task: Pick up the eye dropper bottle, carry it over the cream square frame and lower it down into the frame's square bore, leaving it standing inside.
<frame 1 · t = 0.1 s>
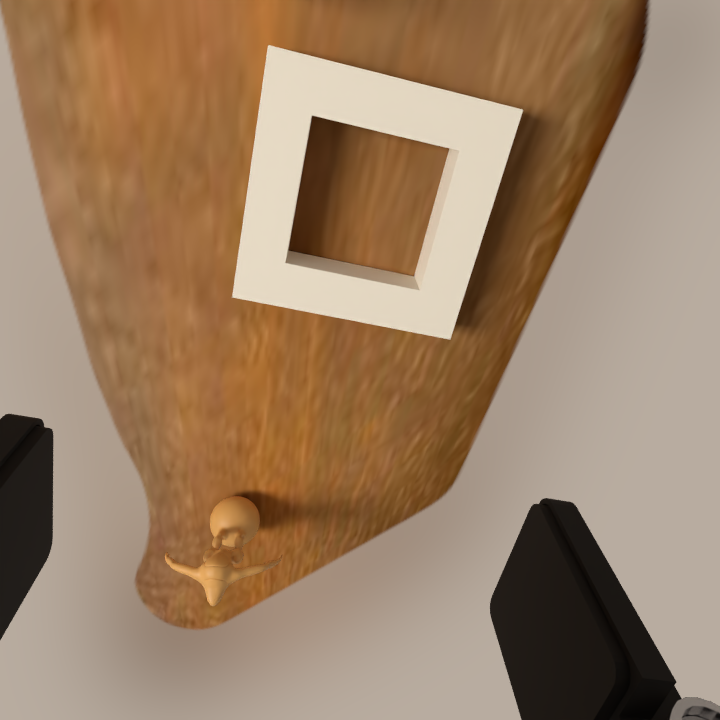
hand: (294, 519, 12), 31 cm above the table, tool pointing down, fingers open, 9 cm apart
cream square frame: (366, 199, 40), on the table
figurine: (238, 493, 50), on the table
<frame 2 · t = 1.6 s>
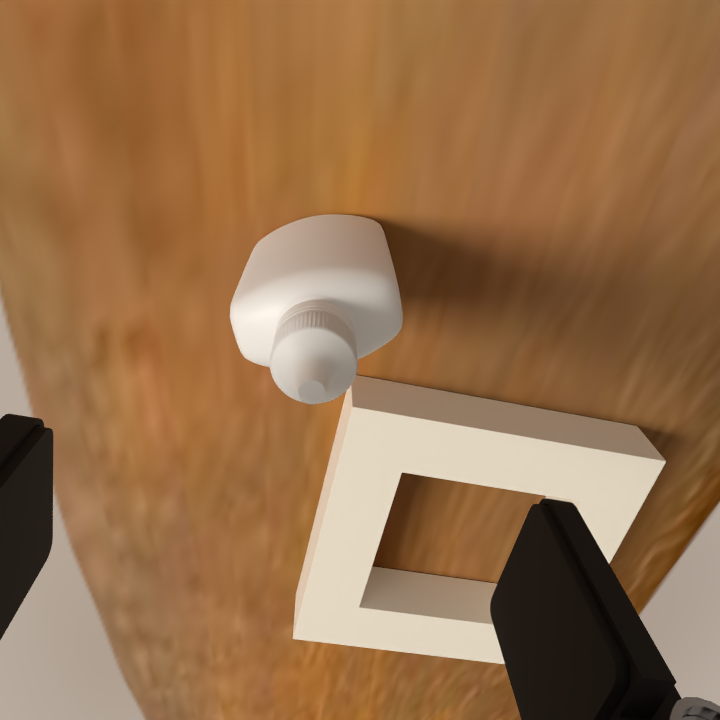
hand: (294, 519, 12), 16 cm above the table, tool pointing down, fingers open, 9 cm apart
cream square frame: (454, 516, 33), on the table
eye dropper bottle: (321, 252, 26), on the table
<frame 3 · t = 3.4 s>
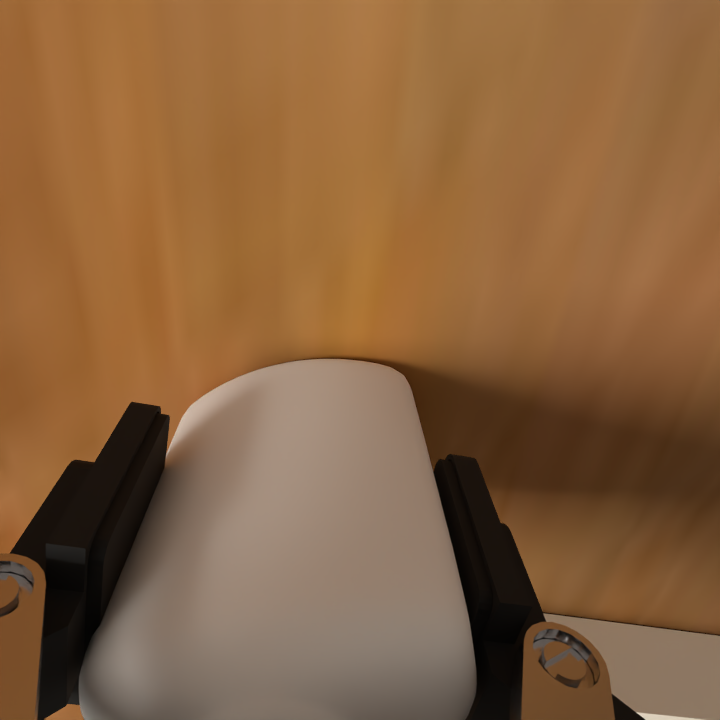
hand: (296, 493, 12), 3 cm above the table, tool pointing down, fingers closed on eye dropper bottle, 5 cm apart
eye dropper bottle: (302, 414, 15), on the table, touching gripper
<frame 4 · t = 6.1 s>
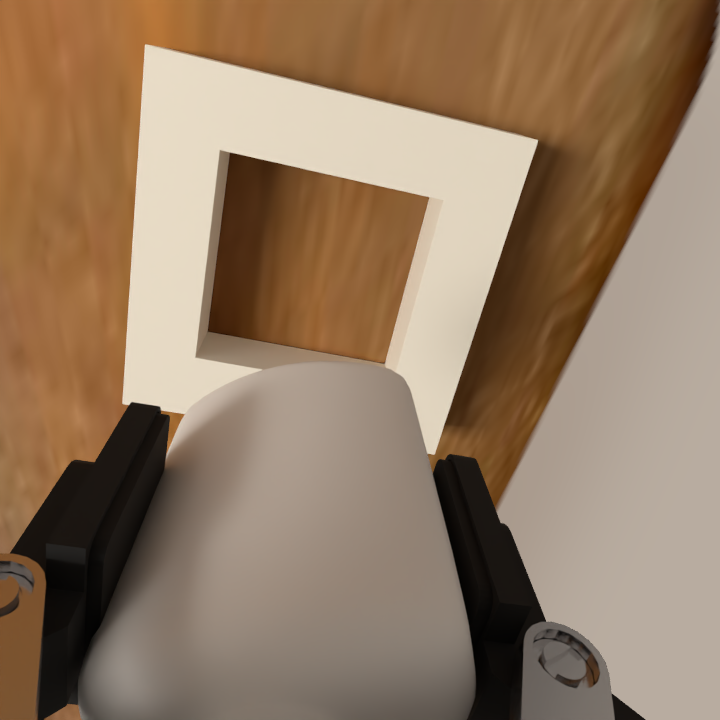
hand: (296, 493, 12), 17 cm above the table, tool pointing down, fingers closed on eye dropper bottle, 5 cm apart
cream square frame: (314, 262, 28), on the table
eye dropper bottle: (302, 416, 15), point 14 cm above the table, touching gripper
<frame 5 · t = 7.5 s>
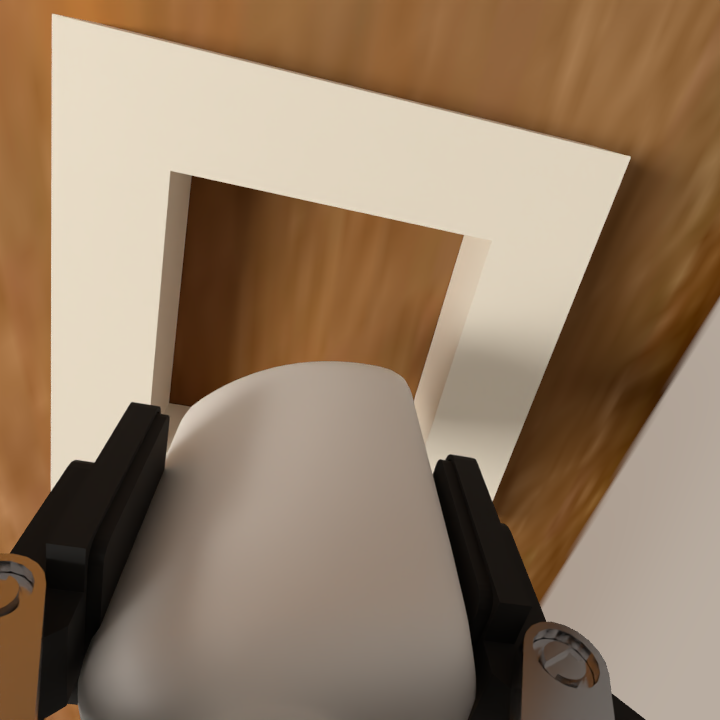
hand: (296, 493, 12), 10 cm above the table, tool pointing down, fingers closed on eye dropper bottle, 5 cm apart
cream square frame: (310, 315, 21), on the table
eye dropper bottle: (302, 416, 15), point 7 cm above the table, touching gripper
when the fingers open (4 cm above the table, at t = 8.9 s): eye dropper bottle drops 1 cm, resting in cream square frame.
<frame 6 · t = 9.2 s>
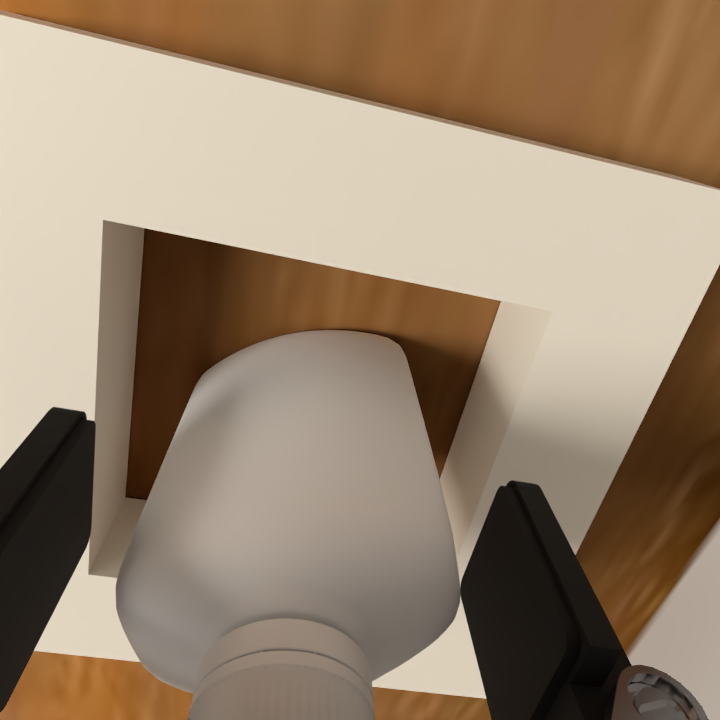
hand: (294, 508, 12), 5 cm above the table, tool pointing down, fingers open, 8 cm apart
cream square frame: (303, 391, 16), on the table
eye dropper bottle: (306, 383, 16), resting in cream square frame
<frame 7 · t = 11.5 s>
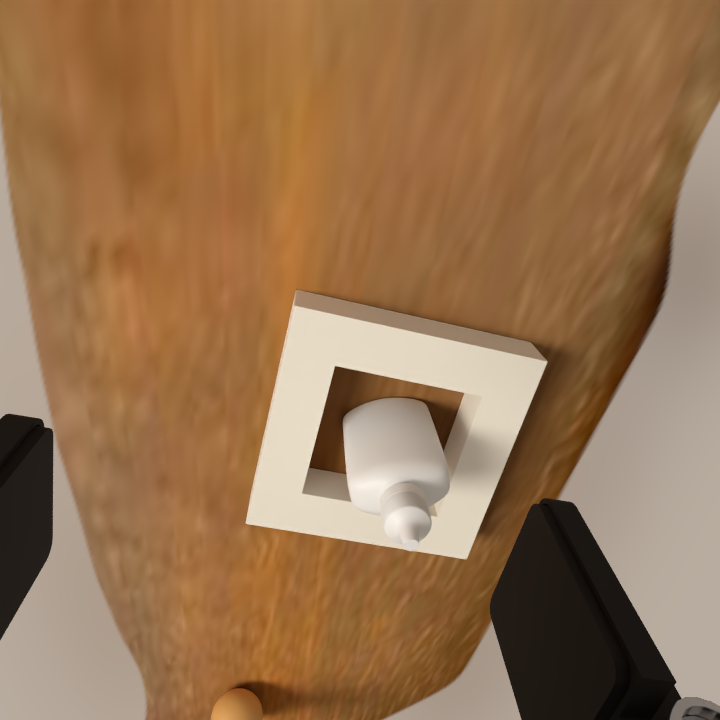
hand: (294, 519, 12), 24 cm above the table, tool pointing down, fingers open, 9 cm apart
cream square frame: (384, 421, 39), on the table
eye dropper bottle: (385, 418, 39), resting in cream square frame
figurine: (240, 683, 48), on the table
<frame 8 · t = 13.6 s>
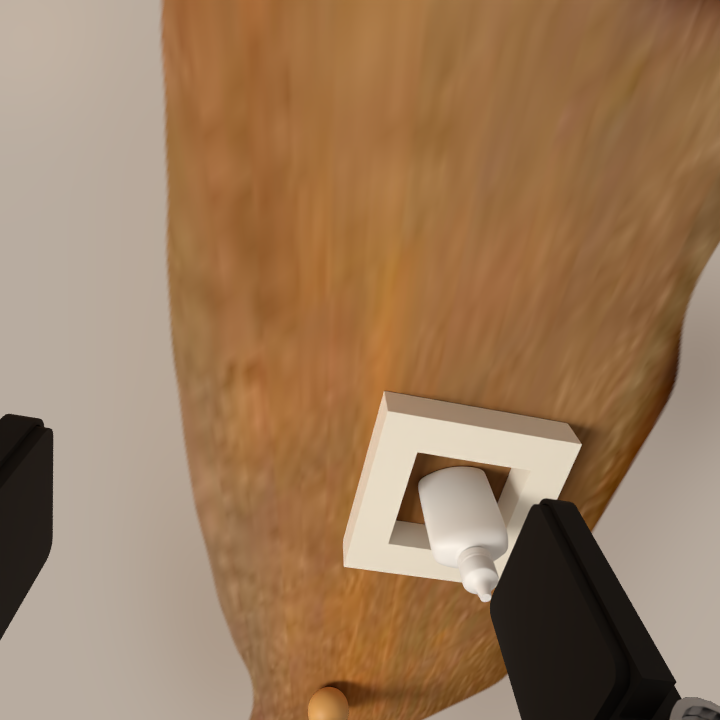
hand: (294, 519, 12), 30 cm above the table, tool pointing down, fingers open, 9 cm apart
cream square frame: (450, 484, 49), on the table
eye dropper bottle: (450, 481, 49), resting in cream square frame
figurine: (328, 682, 59), on the table
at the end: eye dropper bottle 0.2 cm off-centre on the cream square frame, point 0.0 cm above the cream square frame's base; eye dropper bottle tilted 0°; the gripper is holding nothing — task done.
